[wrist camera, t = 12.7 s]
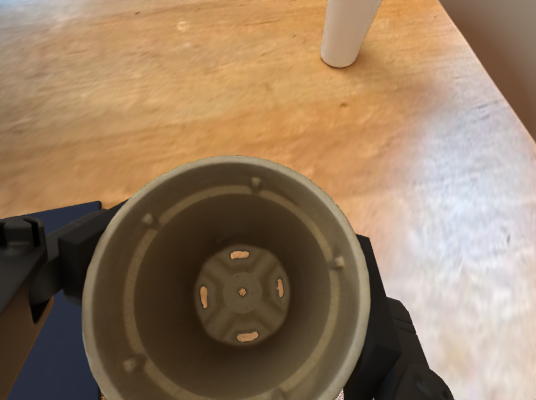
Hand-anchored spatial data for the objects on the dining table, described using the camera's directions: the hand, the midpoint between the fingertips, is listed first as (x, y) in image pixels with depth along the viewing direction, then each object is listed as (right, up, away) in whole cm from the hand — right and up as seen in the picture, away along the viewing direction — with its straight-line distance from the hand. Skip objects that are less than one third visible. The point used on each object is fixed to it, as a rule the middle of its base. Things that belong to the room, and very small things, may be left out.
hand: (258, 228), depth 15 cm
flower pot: (-1, -4, +3) cm, 5 cm away
